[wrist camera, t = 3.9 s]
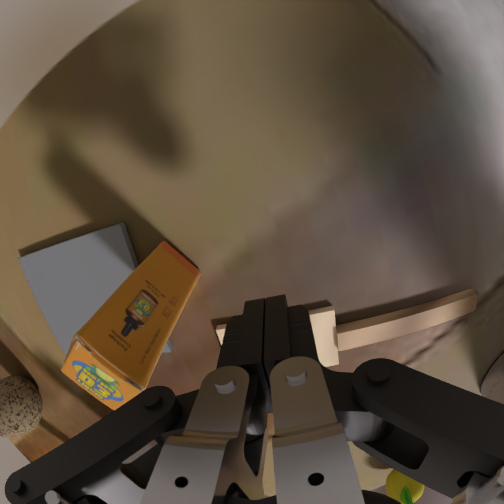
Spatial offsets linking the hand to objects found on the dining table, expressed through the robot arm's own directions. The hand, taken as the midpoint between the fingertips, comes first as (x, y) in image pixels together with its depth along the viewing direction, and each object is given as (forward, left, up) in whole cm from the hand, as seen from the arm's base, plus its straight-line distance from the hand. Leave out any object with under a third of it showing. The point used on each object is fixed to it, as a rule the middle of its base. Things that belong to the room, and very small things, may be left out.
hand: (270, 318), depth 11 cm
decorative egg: (+34, +12, -7) cm, 36 cm away
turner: (-5, +7, -7) cm, 11 cm away
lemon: (-12, +35, -7) cm, 38 cm away
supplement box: (+7, 0, -7) cm, 10 cm away
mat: (+15, +1, -7) cm, 16 cm away
